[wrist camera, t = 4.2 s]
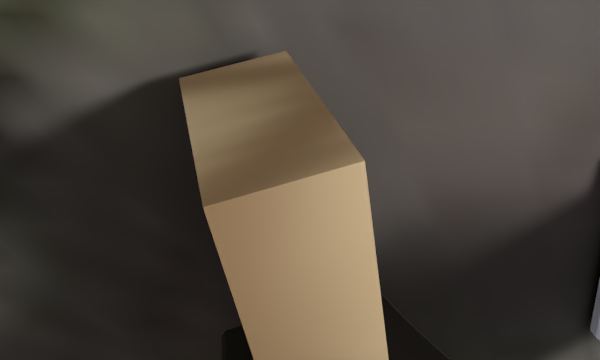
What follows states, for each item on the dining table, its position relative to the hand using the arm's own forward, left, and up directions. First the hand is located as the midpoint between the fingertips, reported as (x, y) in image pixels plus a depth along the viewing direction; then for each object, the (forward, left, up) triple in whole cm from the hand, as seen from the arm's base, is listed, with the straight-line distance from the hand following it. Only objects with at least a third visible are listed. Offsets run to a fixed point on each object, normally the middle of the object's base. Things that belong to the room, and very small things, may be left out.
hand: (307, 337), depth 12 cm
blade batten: (0, +2, -2) cm, 3 cm away
